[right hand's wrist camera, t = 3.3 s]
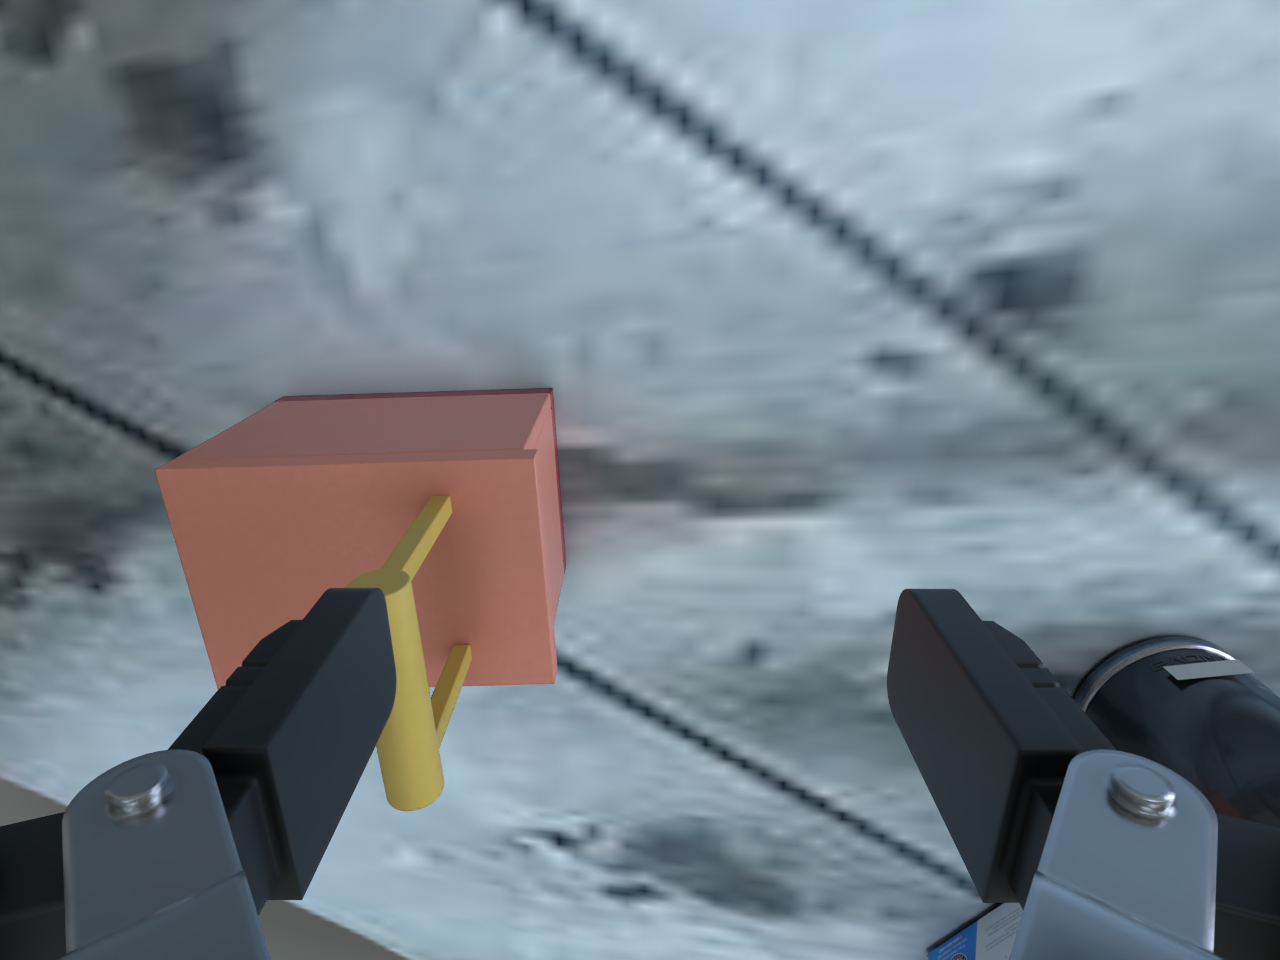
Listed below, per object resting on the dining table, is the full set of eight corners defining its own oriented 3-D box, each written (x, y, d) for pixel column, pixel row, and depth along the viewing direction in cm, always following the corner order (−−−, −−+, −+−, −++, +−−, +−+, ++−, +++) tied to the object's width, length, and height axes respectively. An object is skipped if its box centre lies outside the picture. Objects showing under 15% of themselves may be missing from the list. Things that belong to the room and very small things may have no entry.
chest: (552, 387, 35) (525, 448, 27) (566, 565, 38) (545, 668, 30) (283, 396, 35) (172, 458, 27) (320, 572, 38) (232, 676, 30)
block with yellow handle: (538, 448, 27) (495, 556, 19) (557, 668, 30) (527, 838, 22) (171, 459, 27) (-26, 570, 19) (231, 676, 30) (86, 848, 22)
